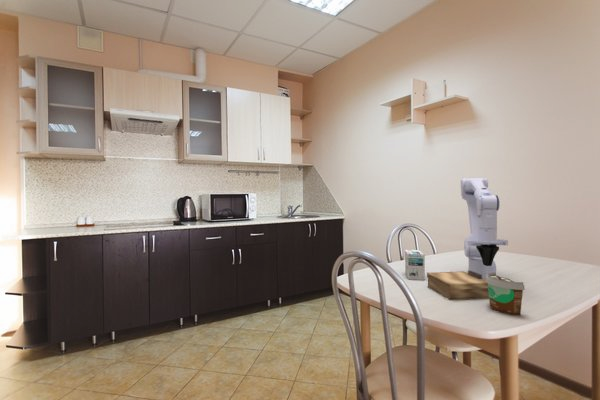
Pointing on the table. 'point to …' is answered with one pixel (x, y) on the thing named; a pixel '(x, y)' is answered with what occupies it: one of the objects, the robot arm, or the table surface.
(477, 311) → the table surface
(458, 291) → the mailer box
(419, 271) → the light bulb box
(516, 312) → the food container
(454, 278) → the mailer lid
